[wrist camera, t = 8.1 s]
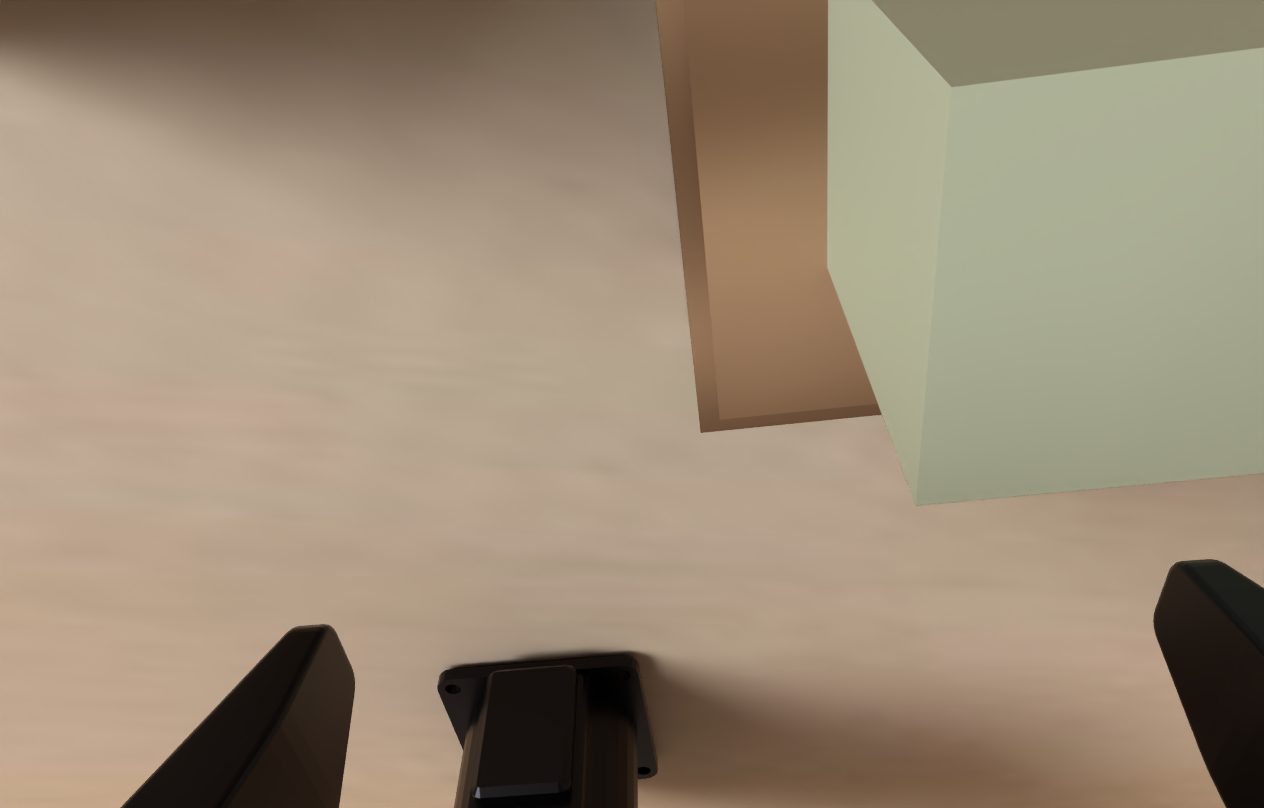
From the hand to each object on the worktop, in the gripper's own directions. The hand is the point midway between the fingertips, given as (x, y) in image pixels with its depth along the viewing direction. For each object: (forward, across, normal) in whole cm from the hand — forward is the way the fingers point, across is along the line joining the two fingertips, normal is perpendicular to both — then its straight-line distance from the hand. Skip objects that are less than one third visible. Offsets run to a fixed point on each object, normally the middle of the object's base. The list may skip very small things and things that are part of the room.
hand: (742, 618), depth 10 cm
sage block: (+7, -5, -3) cm, 9 cm away
